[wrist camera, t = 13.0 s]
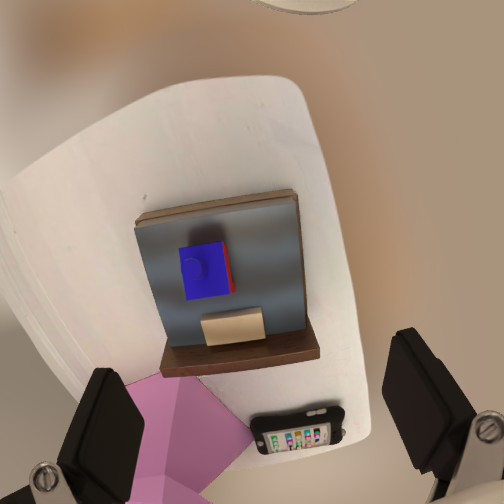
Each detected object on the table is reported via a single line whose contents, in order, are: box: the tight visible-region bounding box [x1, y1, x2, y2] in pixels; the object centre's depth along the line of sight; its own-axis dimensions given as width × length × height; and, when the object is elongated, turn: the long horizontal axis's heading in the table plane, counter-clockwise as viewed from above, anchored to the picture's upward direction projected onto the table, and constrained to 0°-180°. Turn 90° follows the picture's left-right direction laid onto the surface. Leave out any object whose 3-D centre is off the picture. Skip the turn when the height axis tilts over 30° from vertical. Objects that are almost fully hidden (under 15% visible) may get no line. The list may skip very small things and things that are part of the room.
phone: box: [250, 406, 346, 455], centre depth 44 cm, size 11×15×4 cm
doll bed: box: [134, 189, 320, 378], centre depth 30 cm, size 15×16×9 cm
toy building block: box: [178, 241, 236, 301], centre depth 25 cm, size 4×4×8 cm
